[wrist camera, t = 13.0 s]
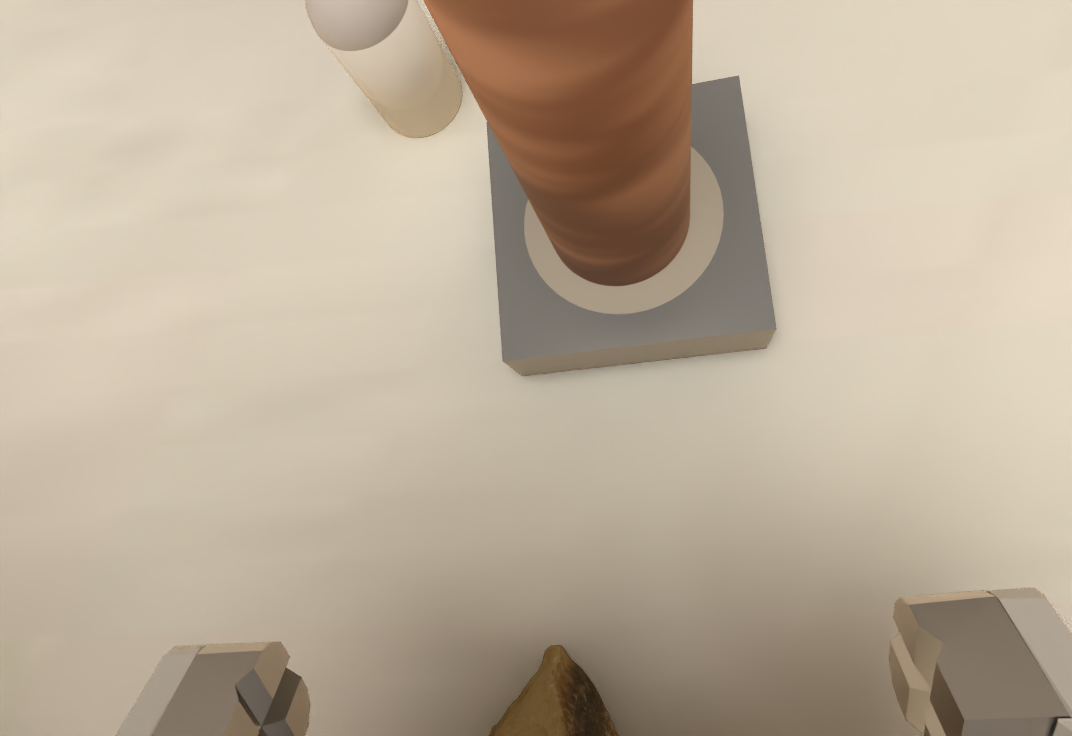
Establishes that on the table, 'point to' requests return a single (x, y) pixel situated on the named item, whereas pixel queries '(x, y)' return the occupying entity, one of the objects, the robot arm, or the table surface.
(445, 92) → the salt shaker
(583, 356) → the plinth
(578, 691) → the rock
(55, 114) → the table surface
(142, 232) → the table surface
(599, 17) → the pepper mill
